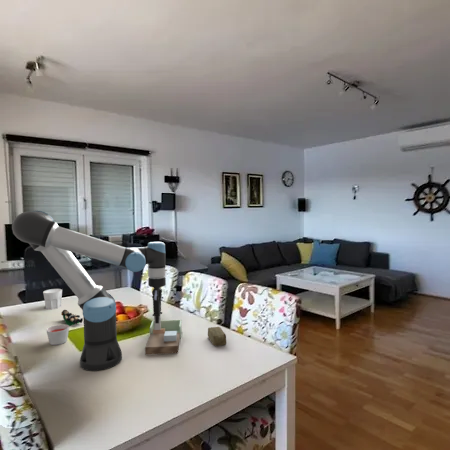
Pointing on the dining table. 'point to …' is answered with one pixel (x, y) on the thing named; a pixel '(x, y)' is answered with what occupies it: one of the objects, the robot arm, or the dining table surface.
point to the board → (161, 345)
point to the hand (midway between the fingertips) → (157, 329)
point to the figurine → (71, 318)
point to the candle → (57, 334)
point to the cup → (53, 298)
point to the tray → (169, 326)
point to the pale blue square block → (170, 336)
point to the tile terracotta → (159, 331)
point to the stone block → (217, 336)
